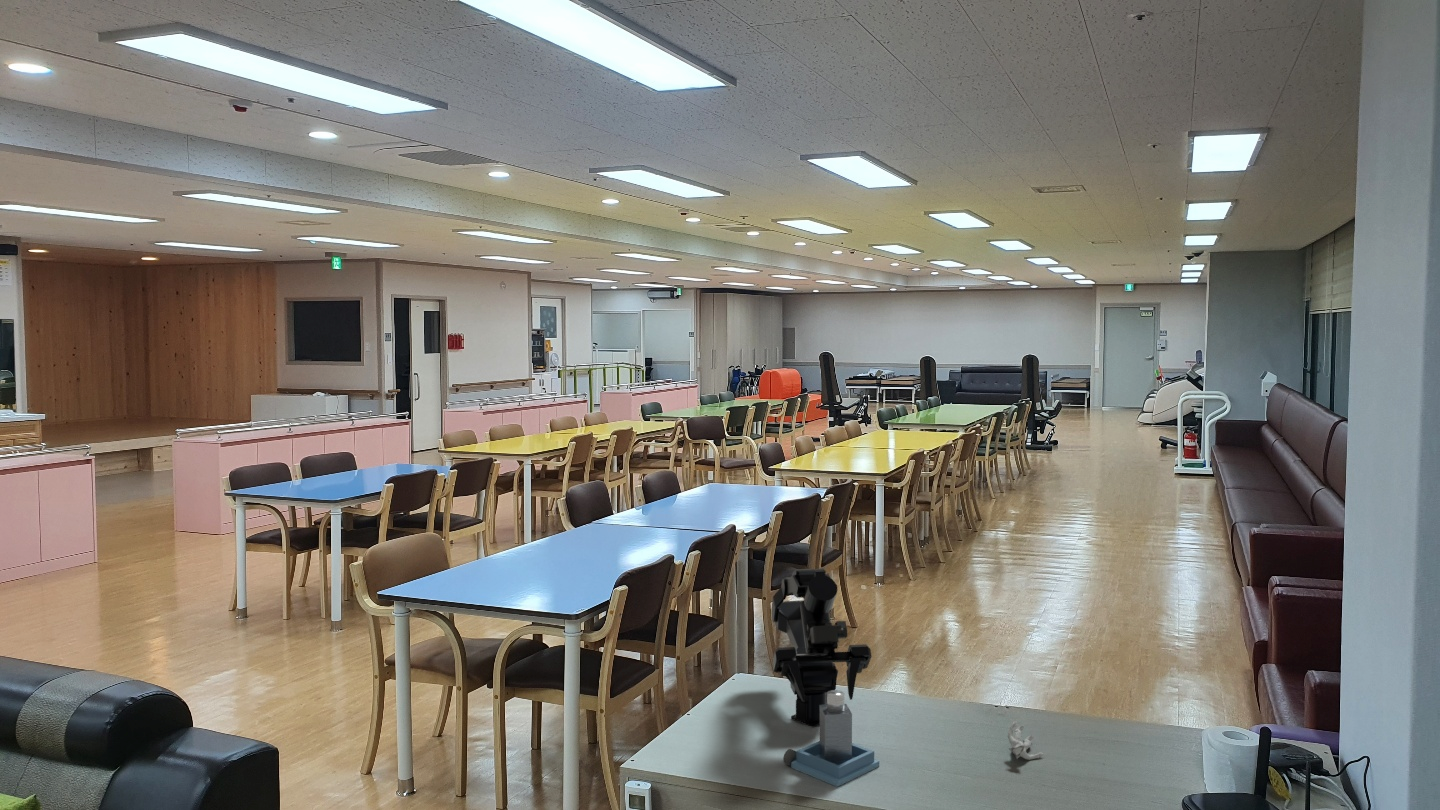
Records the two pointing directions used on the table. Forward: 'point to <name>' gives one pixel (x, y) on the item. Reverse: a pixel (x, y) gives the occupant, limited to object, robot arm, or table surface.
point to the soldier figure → (1020, 743)
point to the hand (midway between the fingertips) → (827, 699)
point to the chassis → (831, 764)
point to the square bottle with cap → (835, 729)
